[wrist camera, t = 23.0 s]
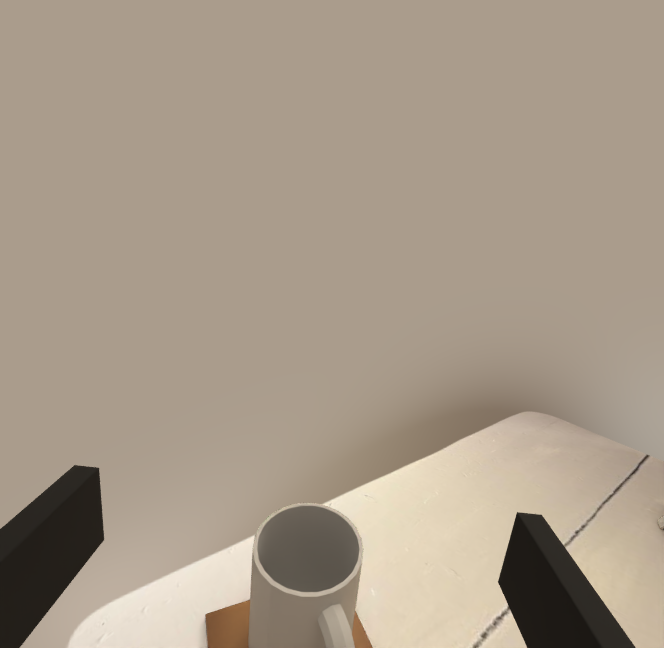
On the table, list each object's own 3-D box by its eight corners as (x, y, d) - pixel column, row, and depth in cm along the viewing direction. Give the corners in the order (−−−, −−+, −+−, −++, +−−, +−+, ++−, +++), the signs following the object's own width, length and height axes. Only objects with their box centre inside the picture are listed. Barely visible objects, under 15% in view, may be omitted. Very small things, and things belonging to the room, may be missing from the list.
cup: (323, 582, 30) (333, 493, 28) (392, 726, 22) (414, 613, 20) (237, 616, 27) (241, 518, 25) (279, 802, 18) (290, 676, 16)
